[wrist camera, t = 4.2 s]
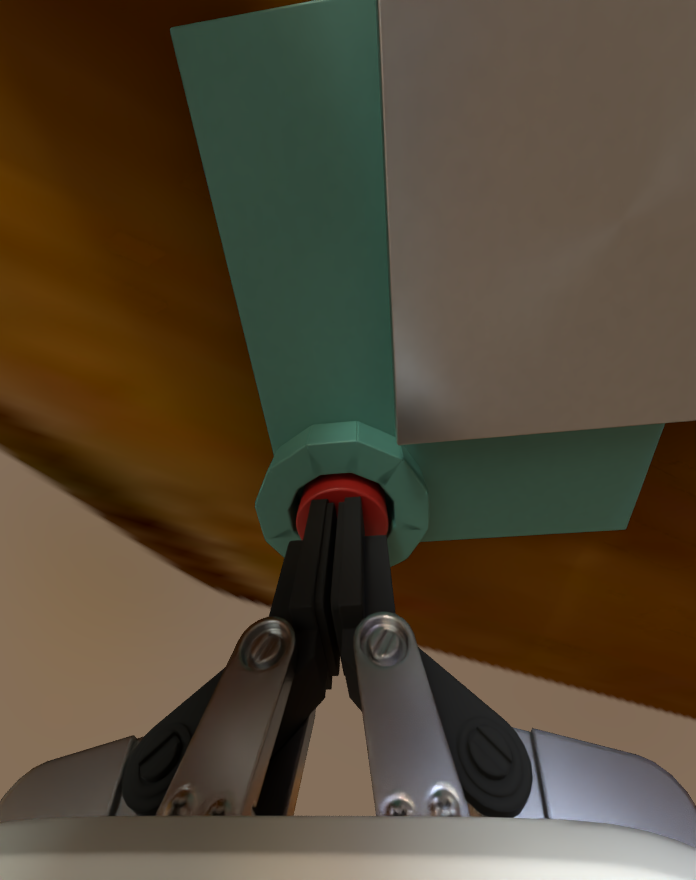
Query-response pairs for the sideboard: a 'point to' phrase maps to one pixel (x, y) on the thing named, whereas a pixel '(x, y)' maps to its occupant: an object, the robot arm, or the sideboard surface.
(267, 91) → the scale
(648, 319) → the weighing plate
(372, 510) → the tare button
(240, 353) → the sideboard surface
